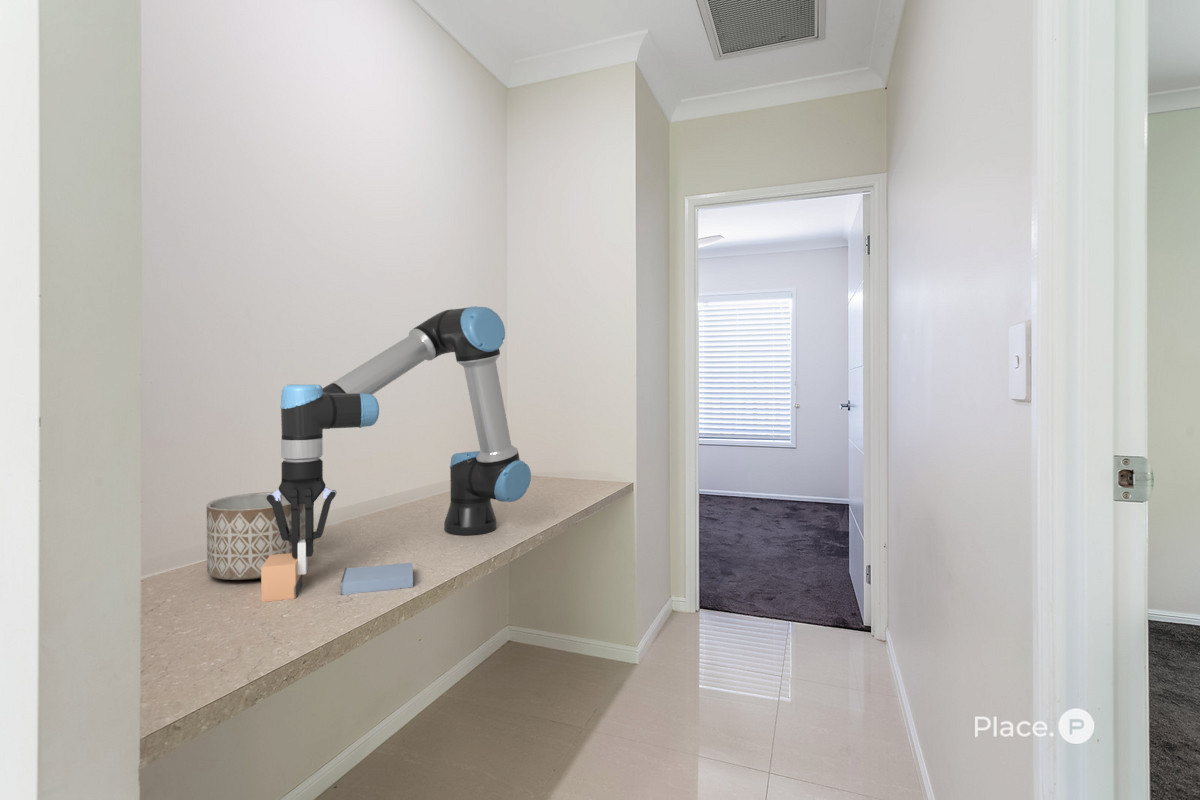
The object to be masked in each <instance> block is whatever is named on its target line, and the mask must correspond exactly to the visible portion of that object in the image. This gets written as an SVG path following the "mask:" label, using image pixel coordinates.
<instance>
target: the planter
mask: <svg viewBox="0 0 1200 800" xmlns="http://www.w3.org/2000/svg"><path fill="white" fill-rule="evenodd" d="M274 492H275V491H268V492H267V491H266V492H264V491H263V492H252V493H243V494H236V495H230V496H226V497H221V498H217V499H214V500H212V501H210V502H208V503H207V504H206V568H207V569H206V570H207V574H208V575H209V576H210V577H212V578H215V579H219V580H228V581H229V580H231V581H232V580H233V581H250V580H252V581H253V580H261V567H262V565H263V564H264V563H265V561H266V560H267V559H268V557H269V556H270V555H276V554H289V553H292V543H291V542H290V541H287V540H285V541H284V540H282V539H281V535H280V532H279V528H278V525H277V521H276V518H275V514H274V511H273V507H272V506H271V504H270V503H269V502H268V501H267V499H266V498H267V496H268V495H269V494H271V493H274ZM281 497H282V499H281V500H280V501H281V504H282V507H283V510H284V514H285V517H286V521H287V524H288V528H289V531H290V533H291V504H290V503H289V502H288V501H287V500H286V498H285V497H284V496H283V495H282V494H281ZM304 539H306V538H305V504H300V540H304Z"/></svg>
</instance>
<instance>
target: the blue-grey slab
mask: <svg viewBox="0 0 1200 800" xmlns="http://www.w3.org/2000/svg"><path fill="white" fill-rule="evenodd" d="M342 574H343V575H342V577H341V580H340V595H341V596H342V595H352V594H363V593H371V592H380V591H388V590H389V591H392V590H400V588H402V589H408V588H407V587H411V588H413V587H414V585H413V584H414V573H413V562H405V563H395V564H394V563H393V564H383V565H372V566H362V567H349V568H346V567H345V568H344V571H343V573H342Z"/></svg>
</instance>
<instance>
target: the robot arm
mask: <svg viewBox="0 0 1200 800" xmlns="http://www.w3.org/2000/svg"><path fill="white" fill-rule="evenodd" d="M505 338H506V329H505V325H504V322H503V320H502V319H501V317H500V316H499V314H498V313H497V312H495V310H493V309H491V308H489V307H487V306H470V307H463V308H454V309H453V308H450V309H446V310H443V311H441V312H439V313H436V314H435V315H433V316H431V317H430V318H428V319H426V320H425V321H423V322H421V323H420V324H418V325H417V326H415V327H413V328H412V329H411V330H409V332H408V335H407V336H406V337H404V338H403V339H402V340H400V341H397V342H396V343H395V344H393V345H392V346H390V347H388V348H386V349H385V350H383V351H381V352H380V353H378V354H377V355H375V356H374V357H372V358H370V359H369V360H367V361H365V362H364V363H362V364H360V365H359V366H357V367H355V368H354V369H352V370H351V371H349V372H348V373H346V374H344V375H343V376H340V377H339V378H338V379H336V380H334V381H333V382H331V383H329V384H327V385H326V386H324V387H322V385H320V384H294V383H293V384H287V385H285V386H283V387H282V390H281V396H280V397H281V398H280V418H281V419H280V420H281V424H280V425H281V441H280V442H281V444H280V445H281V452H280V453H281V454H280V455H281V459H283V461H282V462H281V481H280V484H279V486H278V489H276V491H273V492H274V493H271V494H269V495H268V496H267V498H266V499H267V501H268V502H269V503H270V504H271V506H272V507H273V511H274V514H275V518H276V521H277V525H278V528H279V532H280V535H281V539H282V540H284V541H285V540H287V541H290V542H291V543H292V557H293V558H298V575H301V574H302V575H306V574H307V573H308V571H309V561H308V560H309V558H310V557H312V556H313V555H314V554H313V553H314V540H317V539H320V538H321V537H322V536H323V533H324V531H325V527H326V524H327V523H326V522H327V519H328V515H329V511H330V507H331V503H332V501H334V498H335V497H336V495H337V490H335V489H330V488H329V487H327V486H326V482H325V481H324V476H323V475H324V472H323V471H324V469H323V468H324V464H323V460H322V458H321V457H322V456H323V454H324V453H323V452H324V451H323V449H324V448H323V446H324V445H323V437H324V436H323V431H324V430H330V429H347V428H348V429H349V428H350V429H351V428H359V429H362V428H365V427H372V426H374V425H375V424H376V423H377V421H378V419H379V416H380V415H379V414H380V405H379V401H378V399H377V397H375V396H374V394H376V393H377V392H378V391H381V390H382V389H383V388H385V387H386V386H387V385H390V384H391V383H392V382H394V381H395V380H397V379H399V378H400V377H401V376H403V375H405V374H406V373H407V372H409V371H410V370H412V369H414V368H415V367H417V366H419V364H421V363H422V362H425V361H429V362H430V361H433V360H434V359H436V358H437V357H439V356H442V355H445V354H449V353H454V356H455V360H456V362H457V364H459V365H461V366H462V367H463V370H464V375H465V380H466V384H467V389H468V396H469V400H470V405H471V410H472V415H473V420H474V425H475V430H476V435H477V440H478V445H479V450H478V451H477V450H475V451H474V450H473V451H465V452H456V453H454V454H453V455H452V456H451V457H450V466H449V469H450V471H449V473H450V477H449V478H450V502H449V503H450V504H449V507H448V509H447V510H448V511H447V514H446V516H445V519H444V523H443V524H444V525H443V529H444V532H445V533H448V534H452V535H456V536H457V535H458V536H476V535H483V534H487V533H490V532H493V531H495V530H496V529H497V519H496V518H497V517H496V515H495V511H494V509H493V506H492V503H491V501H492V500H496V501H498V502H503V503H505V502H508V503H514V502H516V501H518V500H520V499H521V498H523V496H524V495H525V494H526V493H527V491H528V488H529V486H530V483H531V479H532V473H531V469H530V466H529V465H528V464H527V463H526V462H525V461H523V460H521V458H520V454H519V450H518V448H517V447H515V446H514V445H512V442H511V435H510V431H509V425H508V420H507V414H506V408H505V403H504V397H503V393H502V387H501V382H500V377H499V373H498V372H499V371H498V366H497V360H498V358H499V357H500V356H501V353H500V351H501V350H500V348H501V347H502V345H503V344H504V340H505ZM322 493H323V495H322V497H323V499H324V501H323V504H322V508H321V511H320V515H319V519H318V523H317V527H316V531H314V527H315V526H314V525H315V524H314V523H315V520H314V519H315V517H314V516H315V515H314V512H315V511H314V510H315V509H314V508H315V507H314V506H315V502H316V500H317V499H318V498H319V496H321V494H322ZM281 494H282V495H283V496H284V497H285V498H286V500H287V501H288V502H289V503H290V504H291V533H290V531H289V528H288V524H287V521H286V517H285V514H284V510H283V507H282V504H281V501H280V500H281V499H282V497H281ZM300 504H305V538H306V539H304V540H300Z"/></svg>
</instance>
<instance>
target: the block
mask: <svg viewBox="0 0 1200 800" xmlns="http://www.w3.org/2000/svg"><path fill="white" fill-rule="evenodd" d="M260 580H261V581H260V583H261V586H260V587H261V590H260V591H261V594H260V595H261V603H266V602H276V601H285V600H286V601H287V600H293V599H294V600H295V599H296V598H297V597H298V595H299V593H300V591H301V588H302V586H303V574H301V575H298V558H293V557H292V553H289V554H276V555H270V556H269V557H268V559H267V560H266V561H265V563H264V564H263V565H262V567H261V579H260Z"/></svg>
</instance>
